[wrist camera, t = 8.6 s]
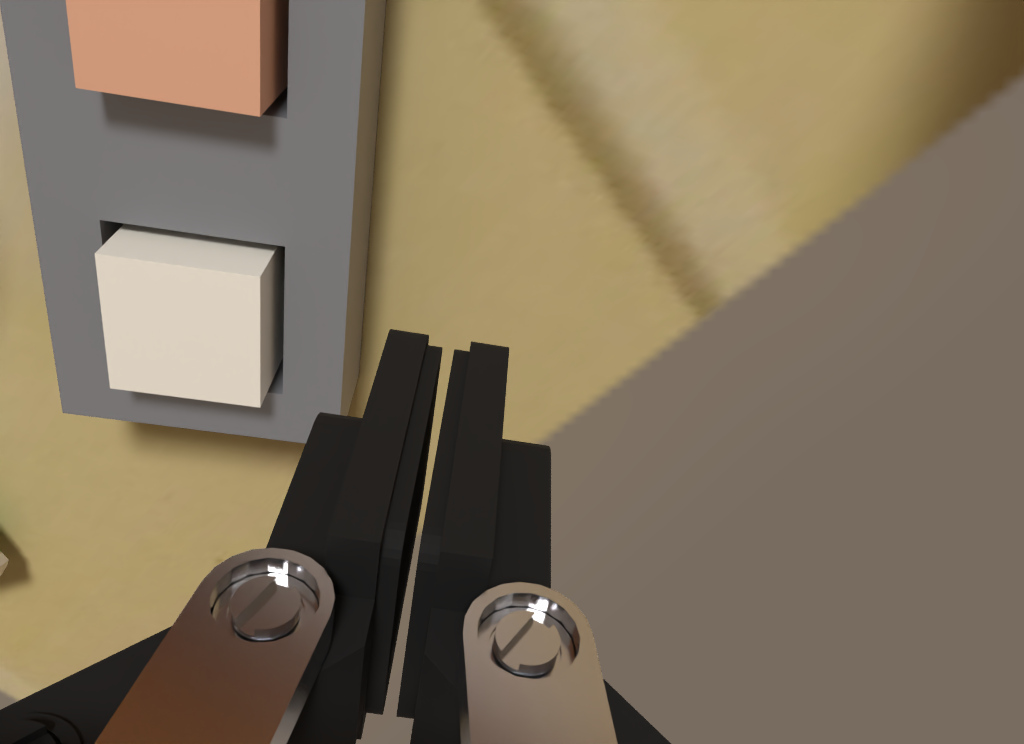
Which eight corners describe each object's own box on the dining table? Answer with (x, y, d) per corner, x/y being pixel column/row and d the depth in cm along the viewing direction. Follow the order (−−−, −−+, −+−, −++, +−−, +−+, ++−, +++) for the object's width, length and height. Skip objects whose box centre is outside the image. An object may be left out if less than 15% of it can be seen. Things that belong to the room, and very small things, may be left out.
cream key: (295, 215, 37) (260, 276, 32) (292, 334, 40) (260, 407, 35) (153, 194, 36) (94, 253, 31) (162, 316, 39) (109, 388, 34)
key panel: (399, -181, 30) (376, -183, 25) (358, 375, 43) (338, 447, 38) (54, -245, 30) (-41, -261, 24) (117, 343, 42) (62, 412, 37)
